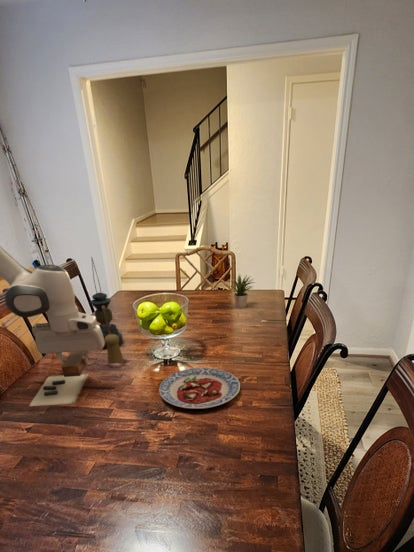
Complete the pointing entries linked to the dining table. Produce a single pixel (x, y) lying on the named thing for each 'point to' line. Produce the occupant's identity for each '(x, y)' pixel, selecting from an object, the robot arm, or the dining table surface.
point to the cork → (113, 349)
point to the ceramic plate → (199, 388)
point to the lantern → (104, 314)
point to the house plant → (241, 291)
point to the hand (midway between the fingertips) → (75, 363)
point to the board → (60, 390)
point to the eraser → (74, 364)
